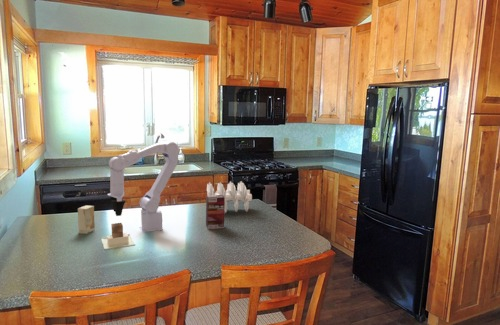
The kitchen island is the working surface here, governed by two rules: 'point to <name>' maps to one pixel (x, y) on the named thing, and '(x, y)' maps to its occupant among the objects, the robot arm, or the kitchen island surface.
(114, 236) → the walnut brick
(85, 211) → the skincare box
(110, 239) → the base brick
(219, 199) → the supplement box
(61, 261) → the kitchen island surface
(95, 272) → the kitchen island surface
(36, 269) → the kitchen island surface
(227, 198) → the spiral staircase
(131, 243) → the plate
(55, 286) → the kitchen island surface
